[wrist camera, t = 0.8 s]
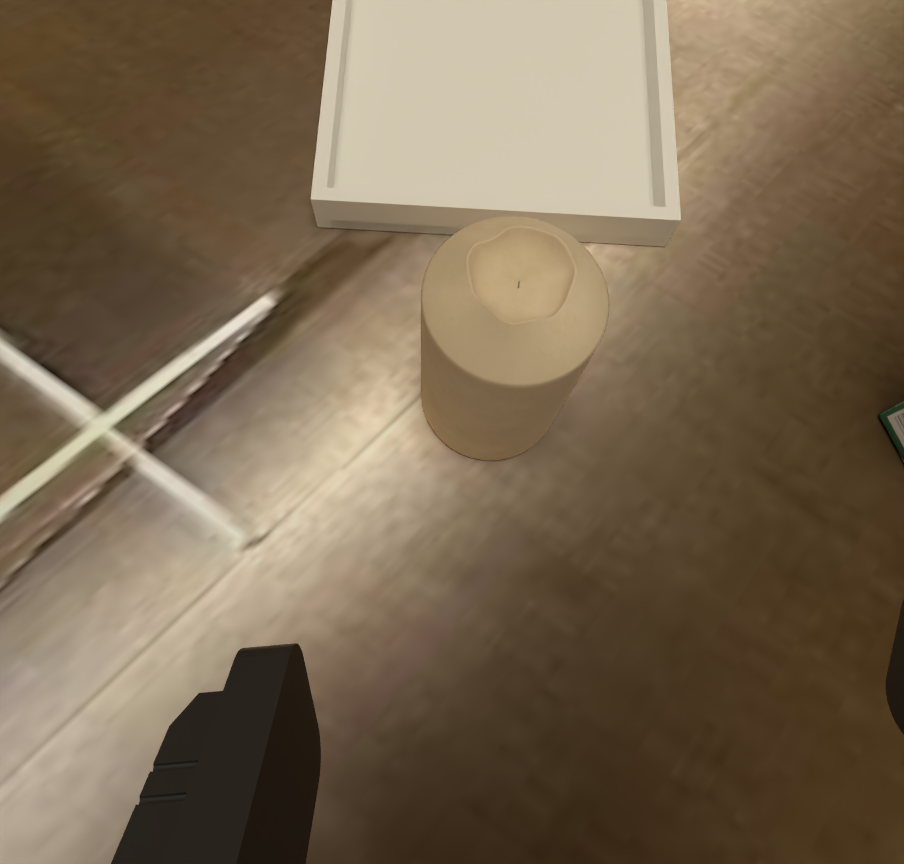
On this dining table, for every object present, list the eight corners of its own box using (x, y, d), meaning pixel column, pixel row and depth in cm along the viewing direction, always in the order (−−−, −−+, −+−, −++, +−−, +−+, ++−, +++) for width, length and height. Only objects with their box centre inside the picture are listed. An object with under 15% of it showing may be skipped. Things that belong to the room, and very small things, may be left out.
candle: (522, 485, 28) (576, 400, 18) (397, 425, 28) (385, 312, 19) (577, 368, 29) (652, 233, 20) (456, 313, 30) (474, 156, 20)
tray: (317, 227, 31) (310, 199, 29) (351, -100, 36) (348, -141, 34) (664, 246, 31) (680, 220, 29) (646, -80, 37) (658, -119, 35)
